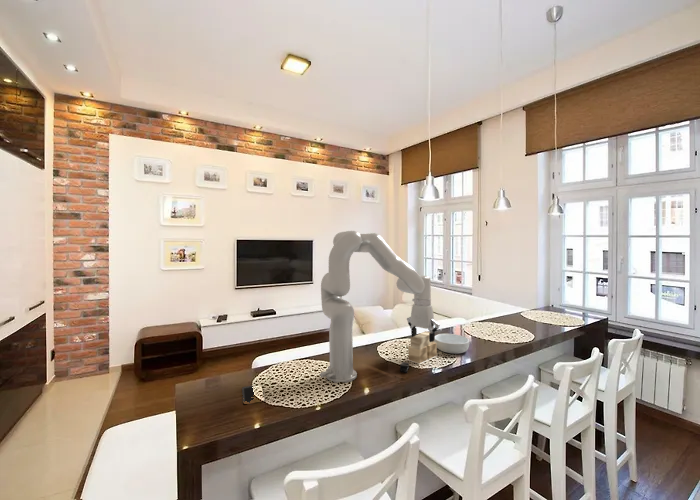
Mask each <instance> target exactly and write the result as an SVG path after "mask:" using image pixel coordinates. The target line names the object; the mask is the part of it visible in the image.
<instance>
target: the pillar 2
mask: <svg viewBox="0 0 700 500" xmlns="http://www.w3.org/2000/svg"><path fill="white" fill-rule="evenodd" d="M426 347H427V358H429V359H428V360H431V359H430V358H432V357H434V358H436V357H438V356H437V355H438V353H437V351H438V350H437V349H438V348H437V343H435V342H434V343H432V344H430V345H428V346H426ZM435 356H436V357H435ZM432 359H433V358H432Z"/></svg>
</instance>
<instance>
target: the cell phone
mask: <svg viewBox="0 0 700 500" xmlns="http://www.w3.org/2000/svg"><path fill="white" fill-rule="evenodd" d="M252 387H253V386H252V385H247V386H243V387H241V388H242V389H241V392H242V395H243V396H242V402H243V401H244V402H245V401H247V402H249V403H250V401H251V400H253V399H254V398H251V397H254V396H253V395H254V392H253V388H252ZM243 398H244V399H243Z"/></svg>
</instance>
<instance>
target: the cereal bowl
mask: <svg viewBox="0 0 700 500" xmlns="http://www.w3.org/2000/svg"><path fill="white" fill-rule="evenodd" d="M434 342H435V343H437V349H438V350H439V351H441V352H442V353H445V354H455V355H457V354H463V353H466V352H467V351H468V350H469V347H470V339H469V338H468V337H466V336H464V335H460V334H454V333H439V334H435V339H434Z"/></svg>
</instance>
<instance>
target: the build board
mask: <svg viewBox="0 0 700 500" xmlns="http://www.w3.org/2000/svg"><path fill="white" fill-rule="evenodd" d="M438 356H439V355H438V354H437V356H435V357H432V358H430V359H429V358H427V360H426V361H424V362H422V363H417V362H414V361H411V360H409V358H408V359H407V361H409V362H412V363H415V364H418V365H421V364H423V363H425V362H429V360H432V359H435V358H437V357H438Z"/></svg>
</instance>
